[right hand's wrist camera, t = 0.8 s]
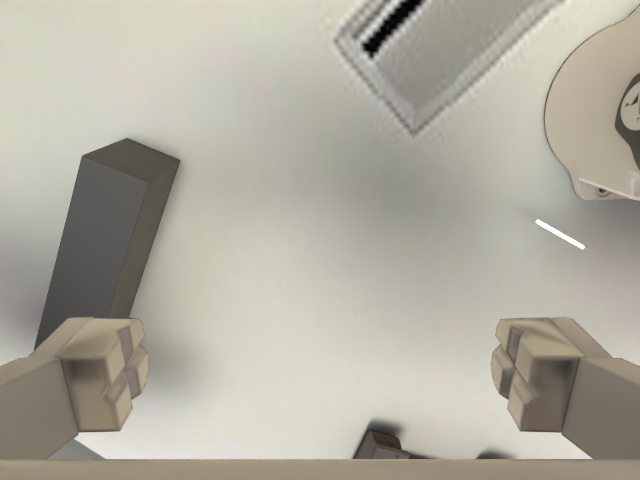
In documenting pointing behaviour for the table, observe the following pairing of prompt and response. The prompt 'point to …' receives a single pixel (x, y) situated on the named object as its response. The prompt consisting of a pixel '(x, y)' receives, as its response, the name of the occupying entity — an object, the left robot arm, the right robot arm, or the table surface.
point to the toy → (380, 447)
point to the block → (107, 233)
